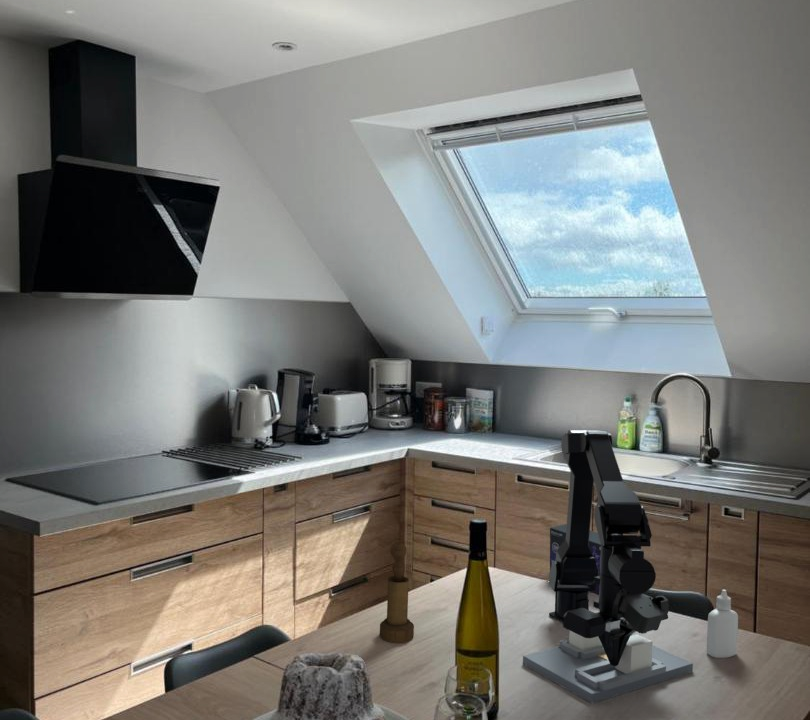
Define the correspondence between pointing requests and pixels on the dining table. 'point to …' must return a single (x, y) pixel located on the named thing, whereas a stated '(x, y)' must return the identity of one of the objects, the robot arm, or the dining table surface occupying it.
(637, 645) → the tab
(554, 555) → the box
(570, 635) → the tab
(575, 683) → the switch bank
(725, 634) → the eye dropper bottle
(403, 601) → the mortar and pestle
